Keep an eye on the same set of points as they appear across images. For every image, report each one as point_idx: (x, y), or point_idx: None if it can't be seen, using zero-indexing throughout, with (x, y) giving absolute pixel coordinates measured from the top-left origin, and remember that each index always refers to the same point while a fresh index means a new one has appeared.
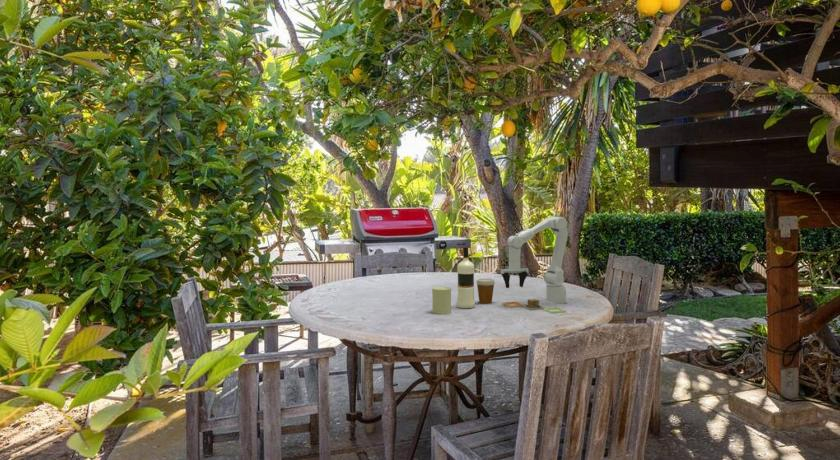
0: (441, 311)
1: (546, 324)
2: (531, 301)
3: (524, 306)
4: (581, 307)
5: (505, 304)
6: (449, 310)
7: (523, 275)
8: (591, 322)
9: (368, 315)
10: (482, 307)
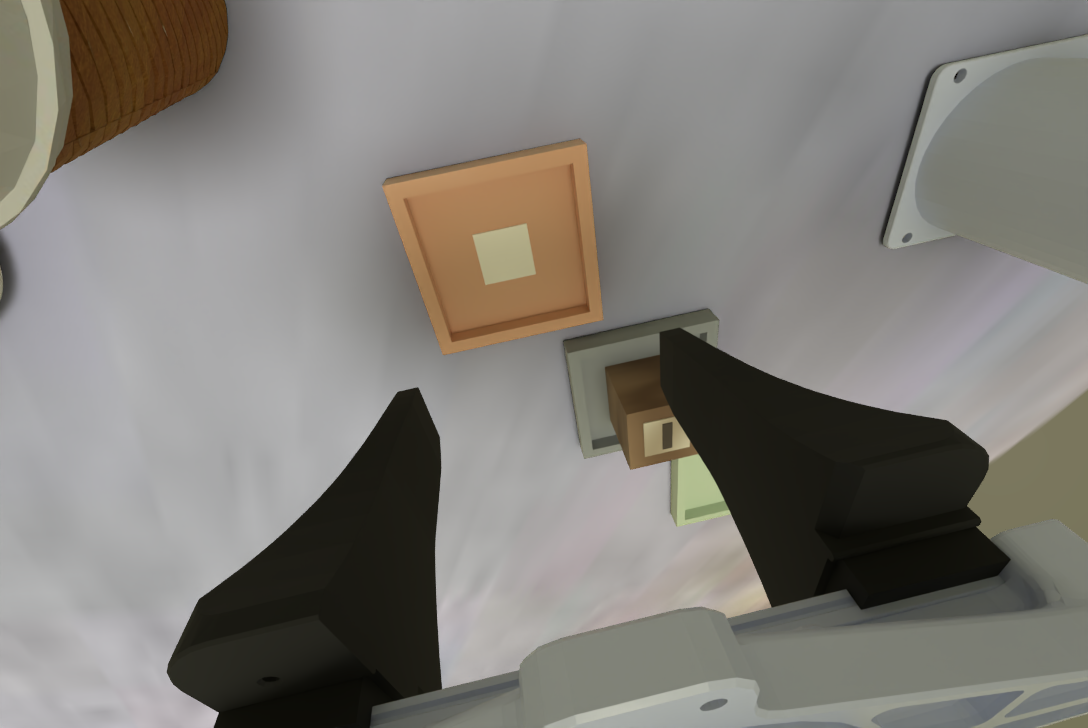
0: None
1: (546, 642)
2: (628, 462)
3: (573, 389)
4: (983, 366)
5: (413, 268)
6: None
7: (770, 599)
8: (744, 611)
9: None
10: (126, 280)
